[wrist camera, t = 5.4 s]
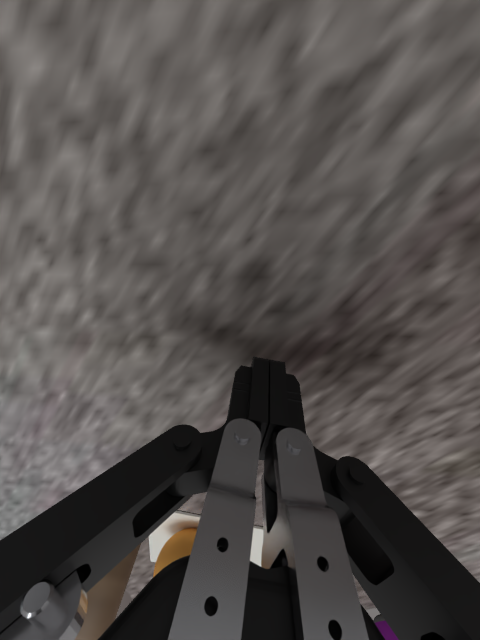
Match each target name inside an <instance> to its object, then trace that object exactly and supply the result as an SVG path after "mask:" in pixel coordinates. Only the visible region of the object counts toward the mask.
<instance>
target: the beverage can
mask: <svg viewBox="0 0 480 640" xmlns="http://www.w3.org/2000/svg"><path fill="white" fill-rule="evenodd" d="M374 623H375V624H376V626H377V628H378V629H379V631H380V632H381V634H382V635H383V637H384V639H385V640H399V639H398V638H397V636H396V635H395V634H394V632H393V631H392V629H391V628H390V626H389V625H388V623H387V622H386V621H385V619H384V618H383V616H382V615H381V614H380V615H377V616H376V617H375V618H374Z"/></svg>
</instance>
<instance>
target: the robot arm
mask: <svg viewBox="0 0 480 640" xmlns="http://www.w3.org/2000/svg"><path fill="white" fill-rule="evenodd" d="M300 394H301V392H300V384H299V382H298V381H297V379H296V378H295V376H294V375H290V374H286V369H285V363H284V362H280V361H274V360H268V359H263V358H258V357H253V361H252V365H251V367H247V366H242V365H241V366H240V367H239V369H238V370H237V371H236V373H235V378H234V383H233V388H232V393H231V399H230V405H229V410H228V416H227V421H226V423H225V424H224V425H223V426H222V427H221V428H219V429H217V430H215V431H211V432H205V433H200V432H199V431H198V430H197V429H196V428H194V427H192V426H190V425H177V426H174V427H172V428H171V429H169V430H168V431H166V432H164V433H163V434H161V435H160V436H158V437H157V438H155V439H154V440H152V441H151V442H149V443H148V444H146V445H145V446H143V447H142V448H140V449H139V450H137V451H136V452H134V453H133V454H131V455H130V456H128V457H127V458H125V459H123V460H122V461H120V462H119V463H117V464H116V465H114V466H113V467H111V468H110V469H108V470H107V471H105V472H104V473H102V474H101V475H99V476H98V477H96V478H95V479H93V480H92V481H90V482H89V483H87V484H85V485H84V486H82V487H81V488H79V489H78V490H76V491H75V492H73V493H72V494H70V495H69V496H67V497H66V498H64V499H63V500H61V501H60V502H58V503H57V504H55V505H54V506H52V507H51V508H49V509H48V510H46V511H44V512H43V513H41V514H40V515H38V516H37V517H35V518H34V519H32V520H31V521H29V522H28V523H26V524H25V525H23V526H22V527H20V528H19V529H17V530H16V531H14V532H13V533H11V534H10V535H8V536H6V537H5V538H3V539H2V540H0V640H74V639H75V638H76V636H77V635H78V633H79V631H80V629H81V627H82V625H83V622H84V620H85V616H86V612H87V605H88V600H87V594H86V593H87V592H88V591H89V590H90V589H91V588H92V587H93V586H95V585H96V584H97V583H98V582H99V581H100V580H101V579H102V578H103V577H104V576H105V575H107V574H108V573H109V572H110V571H111V570H112V569H113V568H114V567H115V566H116V565H117V564H119V563H120V562H121V561H122V560H123V559H124V558H125V557H126V556H127V555H128V554H129V553H131V552H132V551H133V550H134V549H135V548H136V547H137V546H138V545H139V544H140V543H141V542H143V541H144V540H145V539H146V538H147V537H148V536H149V535H150V534H151V533H152V532H153V531H155V530H156V529H157V528H158V527H159V526H160V525H161V524H162V523H163V522H164V521H165V520H167V519H168V518H169V517H170V516H171V515H172V514H173V513H174V512H175V511H176V510H177V509H179V508H180V507H181V506H182V505H183V504H184V503H185V502H186V501H187V500H188V499H189V498H190V497H191V496H192V495H193V494H198V493H203V492H207V494H206V498H205V502H204V505H203V509H202V513H201V517H200V520H199V524H198V528H197V532H196V536H195V539H194V543H193V547H192V551H191V554H190V555H188V556H185V557H182V558H179V559H177V560H175V561H173V562H172V563H170V564H169V565H167V566H166V567H164V568H163V569H162V570H161V571H160V572H159V573H157V574H156V575H155V576H154V577H153V578H152V579H151V581H150V582H149V583H148V584H147V585H146V586H145V587H144V588H143V589H142V591H141V592H140V593H139V594H138V595H137V596H136V597H135V598H134V599H133V601H132V602H131V603H130V604H129V605H128V606H127V607H126V608H125V610H124V611H123V612H122V613H121V614H120V615H119V616H118V617H117V618H116V619H115V621H114V622H113V623H112V624H111V625H110V626H109V627H108V628H107V629H106V631H105V632H104V633H103V634H102V635H101V636H100V637H99V638H98V639H97V640H385V639H384V637H383V635H382V634H381V632H380V631H379V629H378V628H377V626H376V624H375V623H374V621H373V620H372V619H371V617H370V616H369V615H368V613H367V612H366V610H365V609H364V608H363V607H362V605H361V604H360V602H359V598H358V594H357V590H356V586H355V582H354V578H353V575H354V576H355V578H356V579H357V580H358V582H359V583H360V585H361V586H362V588H363V589H364V591H365V592H366V593H367V595H368V596H369V598H370V599H371V601H372V602H373V603H374V605H375V606H376V608H377V609H378V611H379V612H380V613H381V615H382V616H383V618H384V619H385V621H386V622H387V623H388V625H389V626H390V628H391V629H392V631H393V632H394V634H395V635H396V636H397V638H398V639H399V640H480V583H479V582H478V581H477V580H476V579H475V578H474V577H473V576H472V575H471V574H470V573H469V571H468V570H467V569H466V568H465V567H464V566H463V565H462V564H461V563H460V562H459V561H458V560H457V559H456V558H455V557H454V556H453V555H452V554H451V553H450V552H449V551H448V550H447V548H446V547H445V546H444V545H443V544H442V543H441V542H440V541H439V540H438V539H437V538H436V537H435V536H434V535H433V534H432V533H431V532H430V531H429V530H428V529H427V528H426V527H425V526H424V524H423V523H422V522H421V521H420V520H419V519H418V518H417V517H416V516H415V515H414V514H413V513H412V512H411V511H410V510H409V509H408V508H407V507H406V506H405V505H404V504H403V503H402V502H401V500H400V499H399V498H398V497H397V496H396V495H395V494H394V493H393V492H392V491H391V490H390V489H389V488H388V487H387V486H386V485H385V484H384V483H383V482H382V481H381V480H380V479H379V477H378V476H377V475H376V474H375V473H374V472H373V471H372V470H371V469H370V468H369V467H368V466H367V465H366V464H365V463H363V462H362V461H360V460H359V459H357V458H354V457H350V456H345V457H342V458H340V459H339V460H336V459H334V458H332V457H330V456H328V455H326V454H324V453H322V452H320V451H319V450H318V449H316V448H315V447H314V446H313V444H312V442H311V440H310V439H309V437H308V436H307V435H306V431H305V423H304V415H303V407H302V403H301V401H302V400H301V395H300ZM259 460H264V472H263V475H262V479H261V484H262V508H263V546H262V555H261V566H259V565H257V564H255V563H253V562H252V561H250V554H251V545H252V536H253V527H254V518H255V509H256V497H255V487H256V478H257V470H258V462H259ZM352 573H353V574H352Z"/></svg>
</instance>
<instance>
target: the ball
mask: <svg viewBox="0 0 480 640" xmlns="http://www.w3.org/2000/svg"><path fill="white" fill-rule="evenodd" d="M196 532H197V528H187V529H183V530H181V531H179V532H177V533H176V534H174V535H173V536H172V537H171V538H170V539H169V540H168V541H167V542H166V543H165V545H164V546H163V548H162V549H161V551H160V553H159V555H158V558H157V561H156V564H155V569H154V576H155V575H156V574H157V573H159V572H160V571H161V570H162V569H163V568H164V567H166V566H167V565H169V564H170V563H172V562H173V561H175V560H177V559H179V558H182V557H185V556H188V555H190V554H191V551H192V547H193V543H194V539H195V536H196ZM154 576H153V577H154Z"/></svg>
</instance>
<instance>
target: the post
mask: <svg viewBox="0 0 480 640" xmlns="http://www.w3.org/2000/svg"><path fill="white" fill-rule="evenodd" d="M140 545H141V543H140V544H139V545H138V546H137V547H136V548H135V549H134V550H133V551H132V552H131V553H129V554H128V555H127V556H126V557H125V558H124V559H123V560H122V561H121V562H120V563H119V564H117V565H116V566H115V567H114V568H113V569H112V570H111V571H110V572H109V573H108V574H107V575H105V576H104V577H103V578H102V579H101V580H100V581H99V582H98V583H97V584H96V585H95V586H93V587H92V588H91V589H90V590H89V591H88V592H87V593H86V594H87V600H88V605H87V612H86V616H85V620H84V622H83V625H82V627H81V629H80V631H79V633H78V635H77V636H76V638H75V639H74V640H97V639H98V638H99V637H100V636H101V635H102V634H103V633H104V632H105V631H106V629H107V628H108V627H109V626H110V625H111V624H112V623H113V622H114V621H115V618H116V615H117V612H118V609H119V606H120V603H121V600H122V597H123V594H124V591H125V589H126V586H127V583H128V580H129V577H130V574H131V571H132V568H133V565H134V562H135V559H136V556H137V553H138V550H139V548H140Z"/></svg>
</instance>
